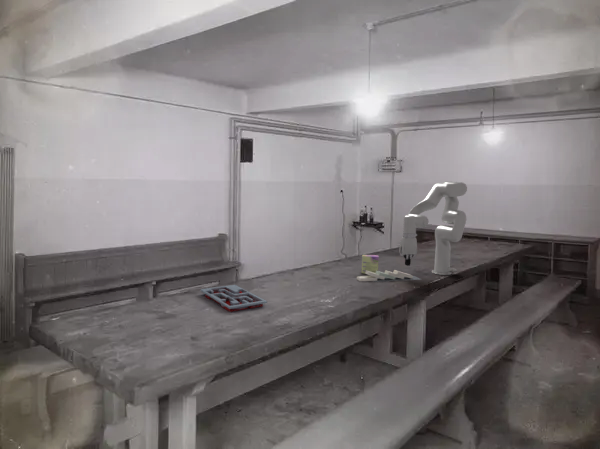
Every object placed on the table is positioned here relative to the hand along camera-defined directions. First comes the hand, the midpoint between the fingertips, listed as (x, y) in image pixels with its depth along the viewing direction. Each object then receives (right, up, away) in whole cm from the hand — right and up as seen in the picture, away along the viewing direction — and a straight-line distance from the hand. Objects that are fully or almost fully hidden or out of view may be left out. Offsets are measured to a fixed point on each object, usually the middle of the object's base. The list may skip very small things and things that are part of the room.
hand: (407, 265), depth 283 cm
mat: (-8, -9, -1) cm, 12 cm away
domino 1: (-21, -7, -6) cm, 23 cm away
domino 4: (-4, -7, 0) cm, 8 cm away
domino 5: (+2, -7, +2) cm, 7 cm away
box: (-21, -7, +13) cm, 26 cm away
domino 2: (-16, -7, -4) cm, 18 cm away
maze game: (-100, -13, -53) cm, 114 cm away
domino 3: (-9, -7, -2) cm, 12 cm away
